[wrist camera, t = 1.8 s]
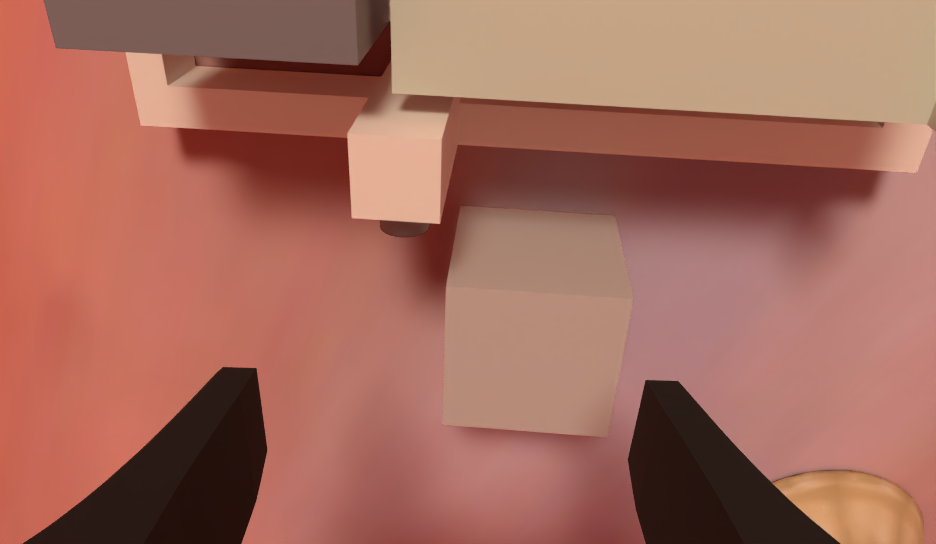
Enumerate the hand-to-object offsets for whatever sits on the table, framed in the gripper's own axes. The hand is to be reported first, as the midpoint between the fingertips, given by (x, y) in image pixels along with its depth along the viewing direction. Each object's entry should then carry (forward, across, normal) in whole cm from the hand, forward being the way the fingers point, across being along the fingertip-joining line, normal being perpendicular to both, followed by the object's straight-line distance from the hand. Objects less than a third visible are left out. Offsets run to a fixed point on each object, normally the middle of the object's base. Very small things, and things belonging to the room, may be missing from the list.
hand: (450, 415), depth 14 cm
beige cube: (+11, -3, +4) cm, 12 cm away
